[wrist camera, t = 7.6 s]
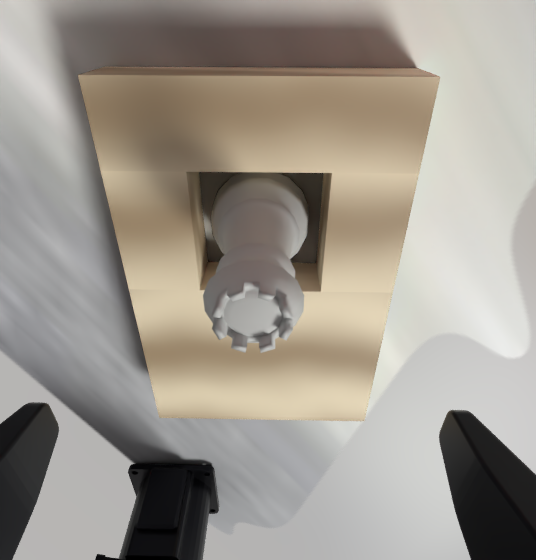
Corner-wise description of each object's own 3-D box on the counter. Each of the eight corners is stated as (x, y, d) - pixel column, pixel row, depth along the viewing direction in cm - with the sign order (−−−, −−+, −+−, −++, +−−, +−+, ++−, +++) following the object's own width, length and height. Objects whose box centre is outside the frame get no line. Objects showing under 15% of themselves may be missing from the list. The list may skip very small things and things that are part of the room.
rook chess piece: (196, 224, 19) (153, 337, 12) (245, 144, 17) (224, 230, 10) (273, 268, 20) (272, 392, 14) (327, 200, 18) (357, 307, 12)
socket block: (356, 387, 25) (364, 421, 23) (168, 384, 25) (159, 417, 23) (417, 68, 15) (440, 77, 13) (104, 66, 15) (77, 74, 13)
